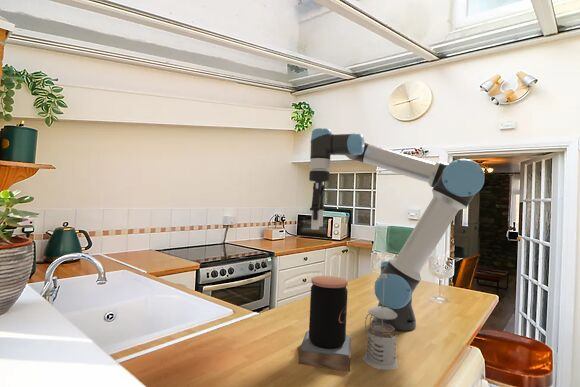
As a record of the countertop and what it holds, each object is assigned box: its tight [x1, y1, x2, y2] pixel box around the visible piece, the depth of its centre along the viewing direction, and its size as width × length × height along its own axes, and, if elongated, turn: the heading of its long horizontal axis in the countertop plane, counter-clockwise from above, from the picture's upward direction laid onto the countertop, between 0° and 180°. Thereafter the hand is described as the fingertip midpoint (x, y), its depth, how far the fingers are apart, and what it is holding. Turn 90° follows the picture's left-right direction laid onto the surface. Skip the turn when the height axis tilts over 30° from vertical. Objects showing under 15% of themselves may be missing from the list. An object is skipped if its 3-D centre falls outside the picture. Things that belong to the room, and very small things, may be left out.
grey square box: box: [298, 330, 352, 372], centre depth 98 cm, size 14×14×4 cm
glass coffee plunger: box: [362, 274, 399, 371], centre depth 98 cm, size 10×12×25 cm
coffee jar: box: [308, 275, 349, 349], centre depth 99 cm, size 11×11×18 cm
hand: (317, 227), depth 126 cm, fingers open, 13 cm apart
